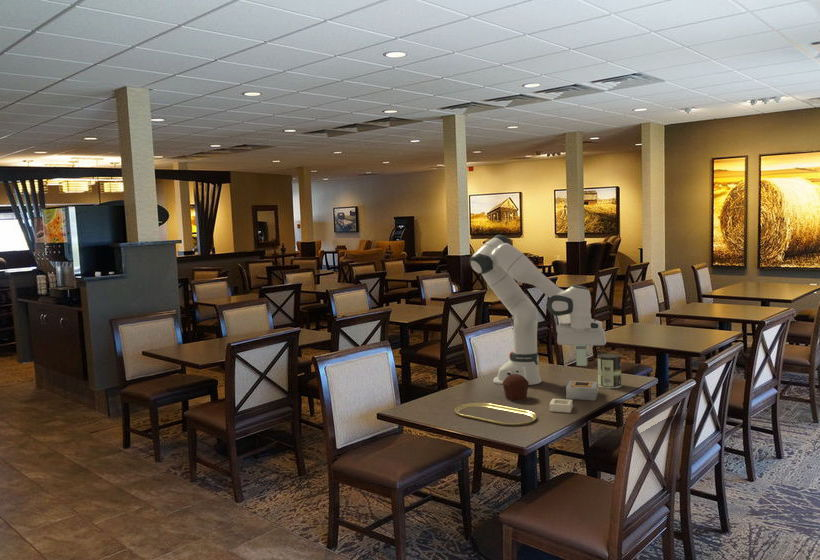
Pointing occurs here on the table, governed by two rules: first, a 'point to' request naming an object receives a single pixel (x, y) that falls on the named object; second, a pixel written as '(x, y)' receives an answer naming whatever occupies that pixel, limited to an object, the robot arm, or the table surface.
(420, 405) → the table surface
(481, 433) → the table surface
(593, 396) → the port
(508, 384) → the muffin
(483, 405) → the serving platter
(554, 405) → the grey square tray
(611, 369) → the coffee can
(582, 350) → the plug
